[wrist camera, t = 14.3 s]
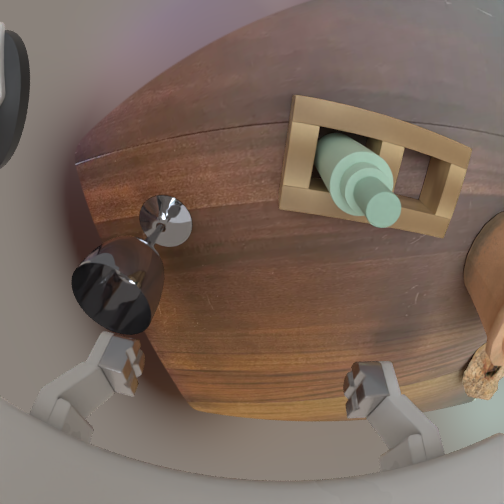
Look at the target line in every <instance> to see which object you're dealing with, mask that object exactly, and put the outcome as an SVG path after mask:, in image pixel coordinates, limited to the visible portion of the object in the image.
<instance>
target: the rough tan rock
mask: <svg viewBox="0 0 504 504" xmlns="http://www.w3.org/2000/svg"><path fill="white" fill-rule="evenodd" d="M485 349H486V343H485V344H484V345H482V347H480V348H478V350H477V351H476V353H475V354H474V356H473V358H472V360H471V362H470V363H469V366H468V367H467V369H466V370H465V372H464V374H463V379H462V381H463V385H464V387H465V392H466V394H467V395H468V396H469V397H474V398H481V399H484V400H489V399H490V398H491V397H492V396H493V394H494V393H495V392H496V391H497V389H498V381H499V380H500V379H501V378H503V377H504V366H494V365H493V364H492V362H491V361H490V359H489V357H488V355H487V353H486V351H485Z"/></svg>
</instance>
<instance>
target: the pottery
mask: <svg viewBox="0 0 504 504" xmlns="http://www.w3.org/2000/svg"><path fill="white" fill-rule="evenodd" d="M464 285H465V286H466V288H467V290H468V292H469V294H470V296H471V298H472V301H473V303H474V305H475V307H476V310H477V312H478V314H479V317H480V319H481V322H482V324H483V327H484V329H485V332H486V334H487V343H486V349H485V351H486V353H487V355H488V357H489V359H490V361H491V362H492V364H493V365H494V366H504V212H501V213H499V214H497V215H496V216H495V217H494V218H493V219H492V220H490V221H489V222H488V223H487V224H486V225H485V226H484V227H483V229H482V230H481V232H480V233H479V234H478V236H477V237H476V238H475V240H474V242H473V244H472V247H471V249H470V251H469V253H468V255H467V259H466V263H465V268H464Z"/></svg>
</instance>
